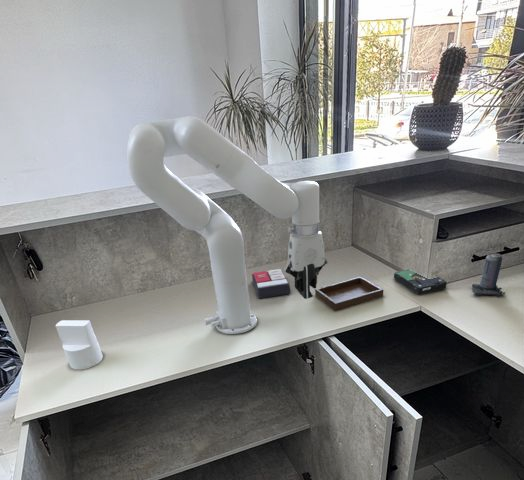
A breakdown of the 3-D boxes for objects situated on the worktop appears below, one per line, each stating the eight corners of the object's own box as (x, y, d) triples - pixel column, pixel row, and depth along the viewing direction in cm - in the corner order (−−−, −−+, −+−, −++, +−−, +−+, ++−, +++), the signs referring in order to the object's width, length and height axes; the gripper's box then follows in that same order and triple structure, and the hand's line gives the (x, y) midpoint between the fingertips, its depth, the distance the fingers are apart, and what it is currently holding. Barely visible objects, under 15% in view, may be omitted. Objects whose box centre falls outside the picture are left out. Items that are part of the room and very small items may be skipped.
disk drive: (446, 289, 139) (419, 273, 151) (447, 281, 138) (420, 265, 150) (418, 296, 137) (392, 278, 149) (419, 288, 136) (393, 271, 148)
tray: (335, 311, 134) (335, 303, 132) (315, 296, 144) (315, 289, 142) (383, 296, 139) (383, 289, 137) (360, 283, 149) (360, 276, 147)
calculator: (281, 267, 157) (289, 281, 144) (282, 278, 160) (290, 293, 147) (251, 271, 157) (257, 286, 144) (252, 283, 159) (258, 298, 146)
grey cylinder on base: (495, 286, 138) (502, 249, 132) (505, 296, 132) (514, 258, 125) (465, 288, 139) (471, 252, 132) (475, 298, 132) (482, 261, 126)
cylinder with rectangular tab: (108, 351, 126) (95, 315, 119) (93, 369, 118) (79, 331, 112) (80, 351, 127) (66, 315, 121) (63, 369, 120) (47, 331, 113)
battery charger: (316, 297, 131) (316, 261, 125) (304, 300, 130) (303, 264, 124) (308, 288, 136) (307, 253, 130) (296, 291, 136) (295, 256, 130)
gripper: (284, 237, 117) (286, 299, 126) (338, 226, 122) (336, 287, 132) (272, 230, 123) (275, 290, 132) (324, 220, 128) (323, 278, 137)
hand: (305, 287), depth 132 cm, fingers closed on battery charger, 4 cm apart
